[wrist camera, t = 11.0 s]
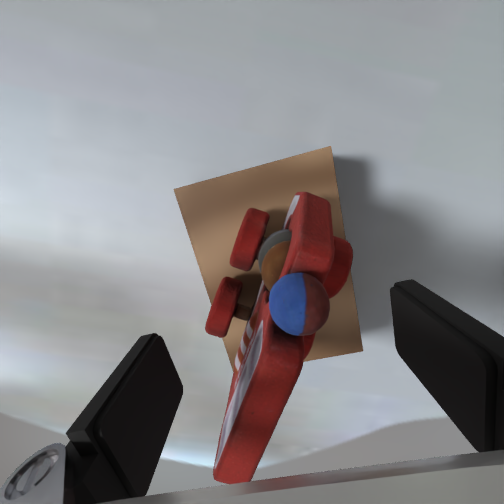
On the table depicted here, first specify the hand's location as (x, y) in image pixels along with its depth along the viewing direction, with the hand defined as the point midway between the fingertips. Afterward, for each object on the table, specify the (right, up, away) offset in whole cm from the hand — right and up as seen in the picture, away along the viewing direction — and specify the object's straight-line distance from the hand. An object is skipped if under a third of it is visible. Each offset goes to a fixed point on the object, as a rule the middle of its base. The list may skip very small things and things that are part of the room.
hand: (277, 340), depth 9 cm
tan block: (+1, +3, +12) cm, 13 cm away
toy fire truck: (+1, +2, +8) cm, 9 cm away
